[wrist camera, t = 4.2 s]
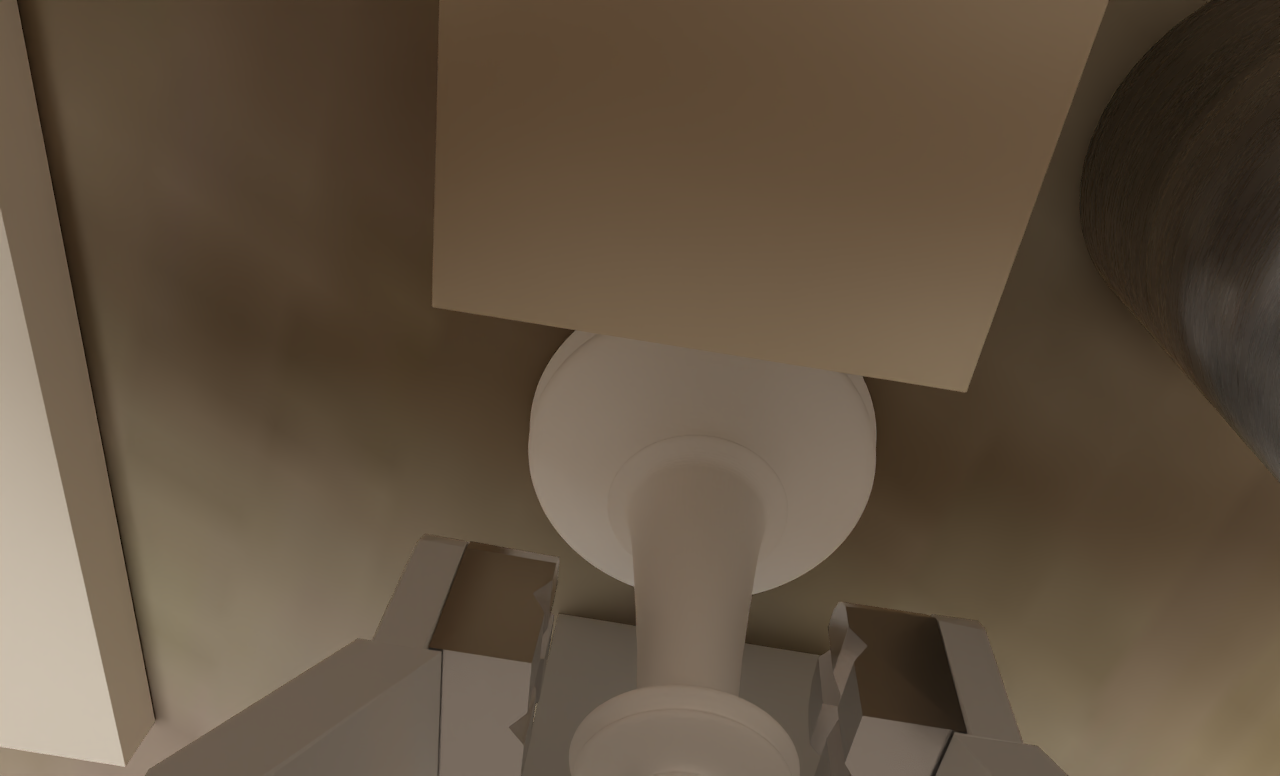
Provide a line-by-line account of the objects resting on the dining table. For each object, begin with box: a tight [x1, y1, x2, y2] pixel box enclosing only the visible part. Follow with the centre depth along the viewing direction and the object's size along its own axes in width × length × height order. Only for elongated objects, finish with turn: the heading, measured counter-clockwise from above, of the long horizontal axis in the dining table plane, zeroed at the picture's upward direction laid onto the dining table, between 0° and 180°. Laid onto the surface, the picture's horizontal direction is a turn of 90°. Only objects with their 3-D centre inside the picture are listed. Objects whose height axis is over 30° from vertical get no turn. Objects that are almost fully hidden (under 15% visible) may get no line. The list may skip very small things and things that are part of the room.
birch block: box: [432, 0, 1109, 392], centre depth 9 cm, size 4×4×4 cm
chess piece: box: [528, 330, 877, 776], centre depth 9 cm, size 5×5×10 cm
